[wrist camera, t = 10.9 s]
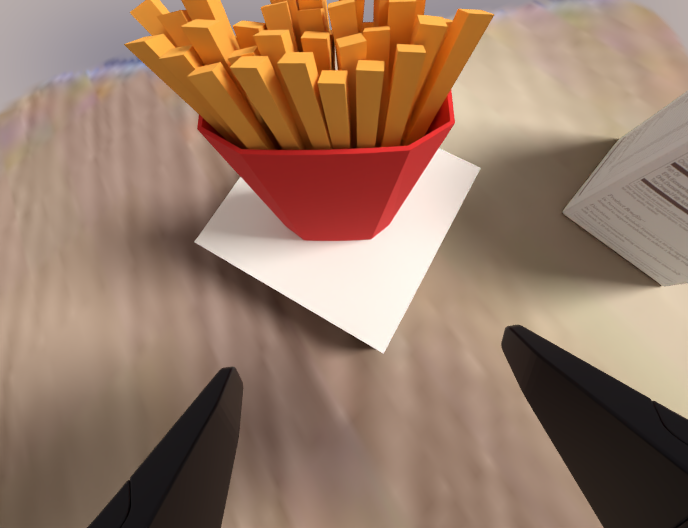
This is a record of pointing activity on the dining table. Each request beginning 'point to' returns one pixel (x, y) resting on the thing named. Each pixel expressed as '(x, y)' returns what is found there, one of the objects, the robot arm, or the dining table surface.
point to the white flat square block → (345, 252)
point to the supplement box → (643, 196)
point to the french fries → (317, 100)
